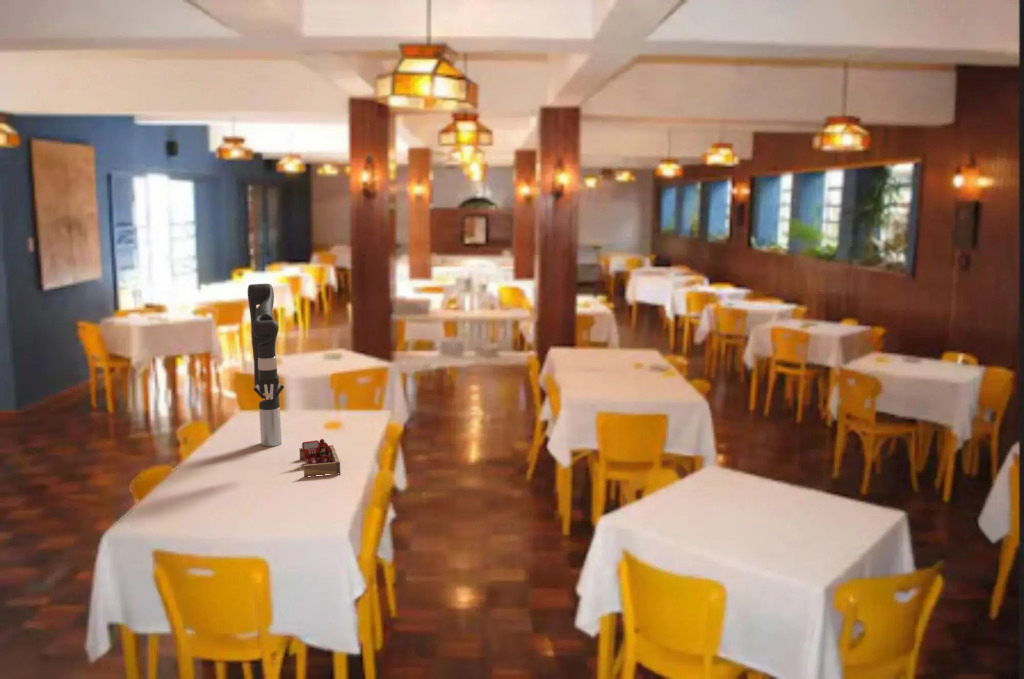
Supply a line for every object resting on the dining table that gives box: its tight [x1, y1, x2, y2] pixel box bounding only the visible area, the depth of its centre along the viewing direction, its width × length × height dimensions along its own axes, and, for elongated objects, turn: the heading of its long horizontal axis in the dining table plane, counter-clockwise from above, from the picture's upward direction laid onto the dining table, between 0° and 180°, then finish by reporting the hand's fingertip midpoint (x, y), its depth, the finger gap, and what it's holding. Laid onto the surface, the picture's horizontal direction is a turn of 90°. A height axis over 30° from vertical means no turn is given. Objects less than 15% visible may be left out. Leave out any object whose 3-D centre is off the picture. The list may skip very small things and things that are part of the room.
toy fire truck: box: [301, 438, 332, 464], centre depth 389 cm, size 7×12×10 cm, turn 120°
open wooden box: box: [299, 444, 341, 478], centre depth 385 cm, size 27×14×5 cm, turn 17°
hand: (269, 407), depth 383 cm, fingers closed
